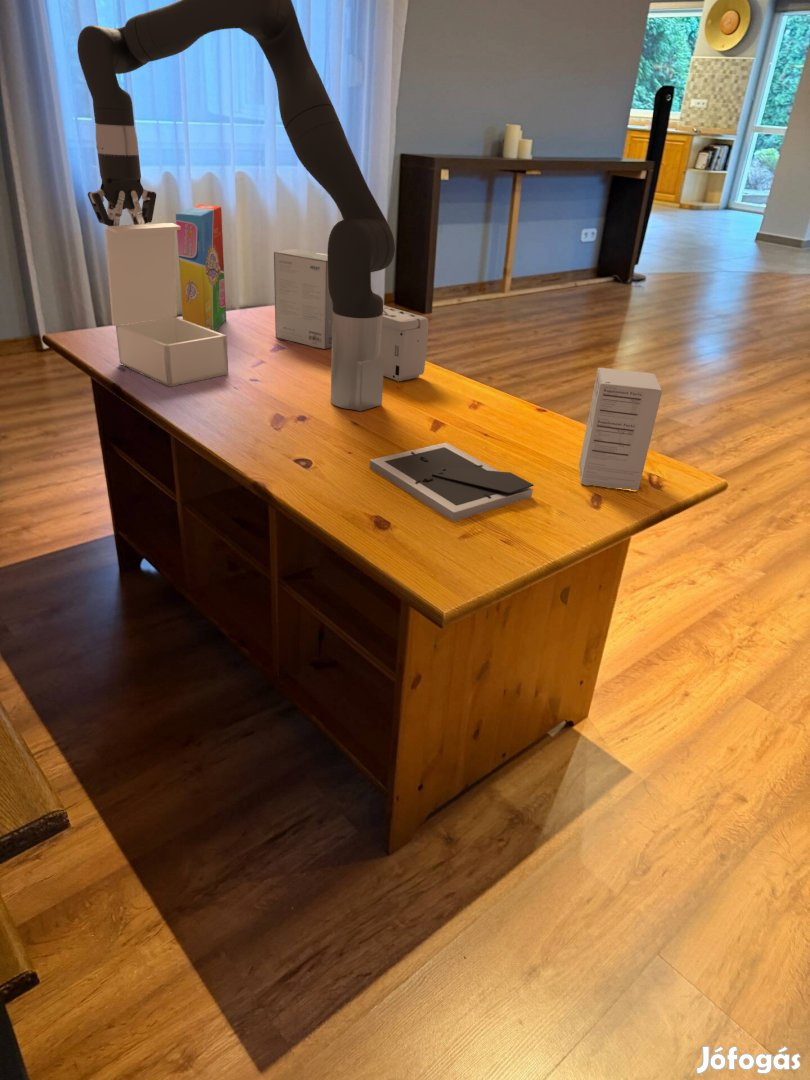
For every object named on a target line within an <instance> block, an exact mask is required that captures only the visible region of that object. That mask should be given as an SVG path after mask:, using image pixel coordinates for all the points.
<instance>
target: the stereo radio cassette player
mask: <svg viewBox="0 0 810 1080" xmlns="http://www.w3.org/2000/svg"><path fill="white" fill-rule="evenodd" d="M428 336H429V319H428V318H427V317H425V316H422V315H418V314H415V313H412V312H408V311H405V310H401V309H397V308H395V307H392V306H387V305H384V304H383V319H382V337H381V356H383V357H384V375H383V377H386V378H388V379H391V380H394V381H398V382H399V381H400V382H401V381H407V380H411V379H417V378H419V377H420V375H421V376H422V375H424V373H425V367H426V361H427V360H426V359H427V351H428V338H429V337H428ZM398 382H397V383H398ZM400 382H399V383H400Z"/></svg>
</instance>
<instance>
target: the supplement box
mask: <svg viewBox="0 0 810 1080" xmlns="http://www.w3.org/2000/svg"><path fill="white" fill-rule="evenodd" d="M593 386H594V387H593V392H592V397H591V403H590V409H589V415H588V419H587V422H586V423H587V424H586V426H585V433H584V438H583V444H582V449H581V453H580V458H579V463H578V465H579V466H578V468H579V478H580V485H581V484H584V485H583V486H588V485H594V486H593V487H595V486H602V487H609V488H608V489H610V488H622V489H631V490H638V491H639V490H640V486H641V482H642V481H641V480H642V477H643V472H644V469H645V464H646V461H647V457H648V452H649V448H650V444H651V440H652V435H653V431H654V426H655V422H656V418H657V413H658V409H659V408H660V407H659V406H660V402H661V399H662V394H663V390H662V388H661V385H660V383H659V380H658V378H657V375H656V374H655V373H653V372H652V373H651V372H644V371H635V370H634V371H633V370H625V369H617V368H608V367H598V368H597V371H596V376H595V381H594V385H593ZM602 487H601V488H602Z"/></svg>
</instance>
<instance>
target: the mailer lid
mask: <svg viewBox="0 0 810 1080" xmlns="http://www.w3.org/2000/svg"><path fill="white" fill-rule="evenodd" d="M106 226H107V225H106ZM177 230H181V226H178V225H176V224H175V223H173V222H163V223H146V224H140V225H134V224H128V225H127V224H125V225H121V224H120V225H119V226H107V228H105V229H104V231H105V245H106V247H105V248H106V260H107V273H108V284H109V286H108V287H109V288H108V289H109V298H110V299H109V301H110V302H109V303H110V313H111V315H110V316H111V325H112V326H115V327H116V326H117V325H123V324H130V323H137V322H144V321H151V320H157V319H164V318H171V317H177V316H178V309H177V308H178V305H177V303H178V302H177V275H176V274H177V273H176V272H177V271H176V268H177V266H176V265H177V264H176V236H175V235H176V234H175V233H176V231H177Z"/></svg>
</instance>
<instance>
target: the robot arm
mask: <svg viewBox="0 0 810 1080" xmlns="http://www.w3.org/2000/svg"><path fill="white" fill-rule="evenodd" d="M229 29H240V30H241V31H243V32H244V33H246V34H248V35H250V36H251V37H253V38H254V39H255V41H256V42H257V43H258V45H259V47H260V48H261V50H262V52H263V54H264V56H265V58H266V60H267V63H268V64H269V66H270V68H271V70H272V73H273V76H274V78H275V83H276V89H277V97H278V98H277V101H278V107H279V108H278V109H279V115H280V118H281V121H282V122H281V123H282V125H283V128H284V131H285V133H286V135H287V137H288V140H289V142H290V145H291V146H292V149H293V151H294V153H295V155H296V157H297V159H298V161H299V162H300V163H301V164H302V166H303V167H304V169H305V170H306V171H307V172H308V174H310V176H312V177H313V178H314V180H315V181H316V183H318V184H319V185H320V186H321V187H322V188H323V190H325V191H326V193H327V194H328V195H329V196H330V197H331V198H332V200H333V202H334V203H335V205H336V207H337V209H338V210H339V213H340V214H341V215H340V216H341V217H342V220H340V221H338V222H336V224H335V225H334V226H332V228H331V231H330V234H329V236H328V241H327V255H328V288H329V294H330V297H331V300H332V304H333V315H332V347H331V358H330V359H331V361H330V362H331V365H330V366H331V367H330V368H331V369H330V402H331V404H332V405H334V406H335V407H337V408H342V409H347V410H355V411H358V412H363V411H366V410H369V409H373V408H375V407H380V406H382V405H383V393H384V391H383V388H384V376H383V375H384V357H383V356H381V337H382V319H383V305H384V299H383V298H382V297H381V296H380V295H379V294H377V293H374V292H373V290H372V282H371V281H372V279H371V278H372V277H371V276H372V274H371V273H374V272H375V273H376V272H379V271H382V270H384V269H387V268H388V267H389V266H390V265H391V263H392V262H393V260H394V257H395V251H396V245H395V244H396V243H395V239H394V238H395V237H394V235H393V232H392V230H391V226H390V225H389V222H388V220H387V219H386V218H385V215H384V214H383V212H382V210H381V208H380V207H379V205H378V203H377V200H376V199H375V197H374V196H373V193H372V192H371V189H370V188H369V186H368V184H367V182H366V180H365V178H364V175H363V173H362V170H361V168H360V166H359V164H358V162H357V159H356V157H355V154H354V152H353V151H352V148H351V146H350V144H349V141H348V138H347V136H346V134H345V131H344V128H343V125H342V124H341V122H340V119H339V117H338V114H337V111H336V110H335V106H334V105H333V102H332V101H331V98H330V97H329V93H328V92H327V89H326V87H325V85H324V83H323V80H322V77H320V74H319V72H318V70H317V68H316V65H315V64H314V62H313V60H312V57H311V55H310V53H309V49H308V47H307V44H306V42H305V39H304V35H303V32H302V29H301V26H300V22H299V19H298V16H297V13H296V10H295V7H294V4H293V1H292V0H176V1H175V2H172V3H170V4H168V5H165V6H162V7H158V8H156V9H152V10H149V11H146V12H143V13H140V14H137V15H134V16H133V17H130V18H129V19H128V20H127V21H126V23H125V25H124V26H122V27H117V28H110V27H104V26H100V25H87V26H85V27H84V28H82V30H81V31H80V33H79V36H78V39H77V55H78V60H79V63H80V67H81V70H82V73H83V76H84V80H85V83H86V85H87V87H88V91H89V93H90V96H91V99H92V107H93V116H94V123H95V124H94V125H95V142H96V143H95V145H96V148H95V149H96V153H97V159H98V160H97V161H98V168H99V176H100V178H101V179H100V180H101V185H100V188H99V189H97V190H95V191H88V193H87V197H88V199H89V202H90V204H91V207H92V209H93V211H94V214H95V216H96V218H97V221H98V222H99V223H100V224H102V225H105V226H120V222H121V221H120V220H121V216H122V215H123V210H127V213H128V214H129V216H130V218H131V221H132V223H133V224H132V225H140V224H151V223H152V221H153V216H154V211H155V205H156V200H157V193H156V192H155V191H151V190H147V189H145V188H144V186H143V185H142V182H141V178H142V173H141V162H140V154H139V153H140V152H139V143H138V137H137V132H136V127H135V118H134V108H133V102H132V101H133V100H132V97H131V95H130V93H129V92H128V91H126V90H124V89H122V88H121V86H120V84H119V82H118V81H119V80H118V77H117V75H122V74H128V73H131V72H133V71H136V70H138V69H140V68H142V67H143V66H145V65H147V64H149V63H150V62H151V63H152V62H155V61H160V60H162V59H165V58H169V57H173V56H176V55H178V54H180V53H182V52H184V51H185V50H187V49H189V48H190V47H191V46H193V44H195V42H197V41H199V39H201V38H202V37H204V36H205V35H207V34H209V33H212V32H216V31H220V30H229ZM104 198H105V199H106V201H107V208H106V207H105V204H104V201H105V199H104ZM141 199H142V205H141V204H140V200H141Z"/></svg>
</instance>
